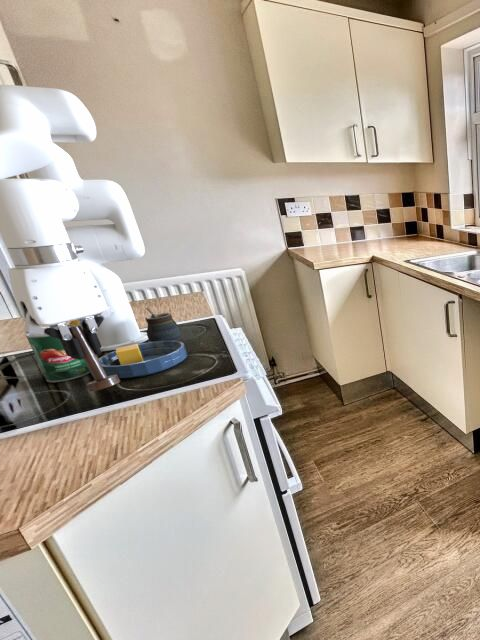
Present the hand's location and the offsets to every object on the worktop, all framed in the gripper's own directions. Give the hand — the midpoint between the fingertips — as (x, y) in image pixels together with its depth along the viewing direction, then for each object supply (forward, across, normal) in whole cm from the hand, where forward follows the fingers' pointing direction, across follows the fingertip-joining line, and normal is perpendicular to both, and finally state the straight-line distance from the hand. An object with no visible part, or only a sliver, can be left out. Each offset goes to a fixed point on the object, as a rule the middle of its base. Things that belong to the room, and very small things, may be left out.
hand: (86, 355), depth 78 cm
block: (+11, -15, -20) cm, 27 cm away
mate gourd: (+11, -28, -28) cm, 41 cm away
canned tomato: (+11, -7, -28) cm, 31 cm away
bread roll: (+11, -30, -68) cm, 75 cm away
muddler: (+6, 0, +2) cm, 6 cm away
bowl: (+11, -16, -16) cm, 25 cm away
